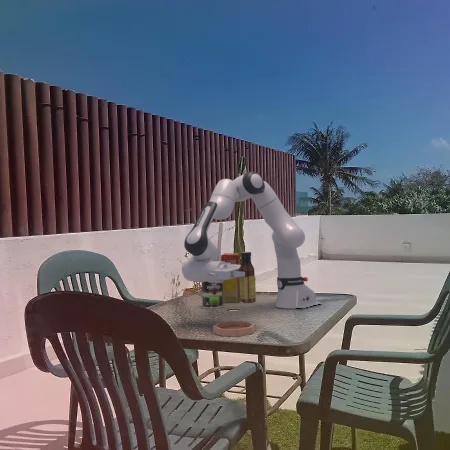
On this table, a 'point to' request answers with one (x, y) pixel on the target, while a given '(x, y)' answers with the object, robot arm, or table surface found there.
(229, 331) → the terracotta saucer
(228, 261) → the food packaging
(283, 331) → the table surface
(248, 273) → the sauce bottle
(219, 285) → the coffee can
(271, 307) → the table surface
